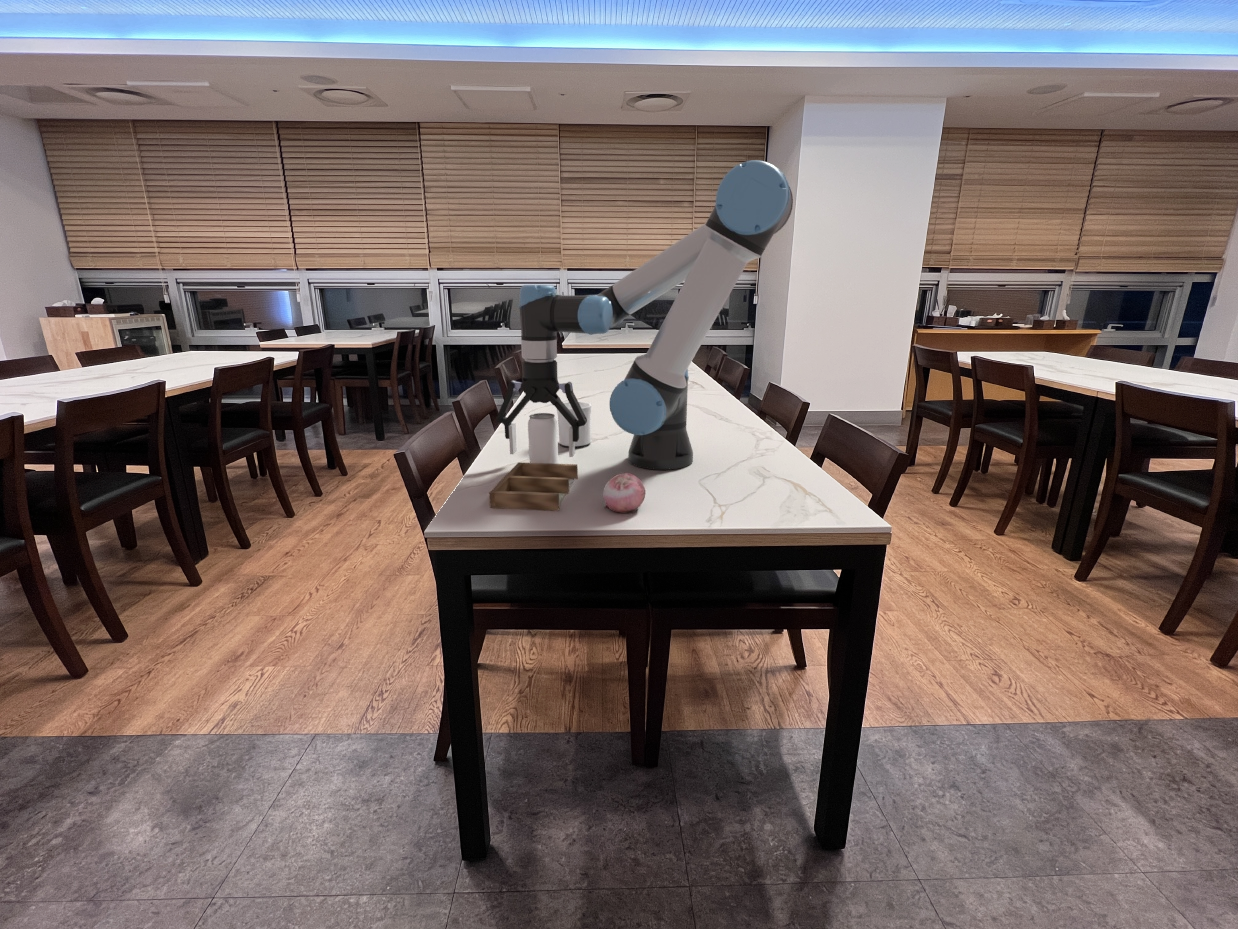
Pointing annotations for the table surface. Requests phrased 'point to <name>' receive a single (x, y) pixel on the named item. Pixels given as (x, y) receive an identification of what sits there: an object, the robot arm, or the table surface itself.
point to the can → (543, 438)
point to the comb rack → (534, 486)
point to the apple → (624, 493)
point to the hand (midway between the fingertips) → (542, 454)
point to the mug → (583, 430)
